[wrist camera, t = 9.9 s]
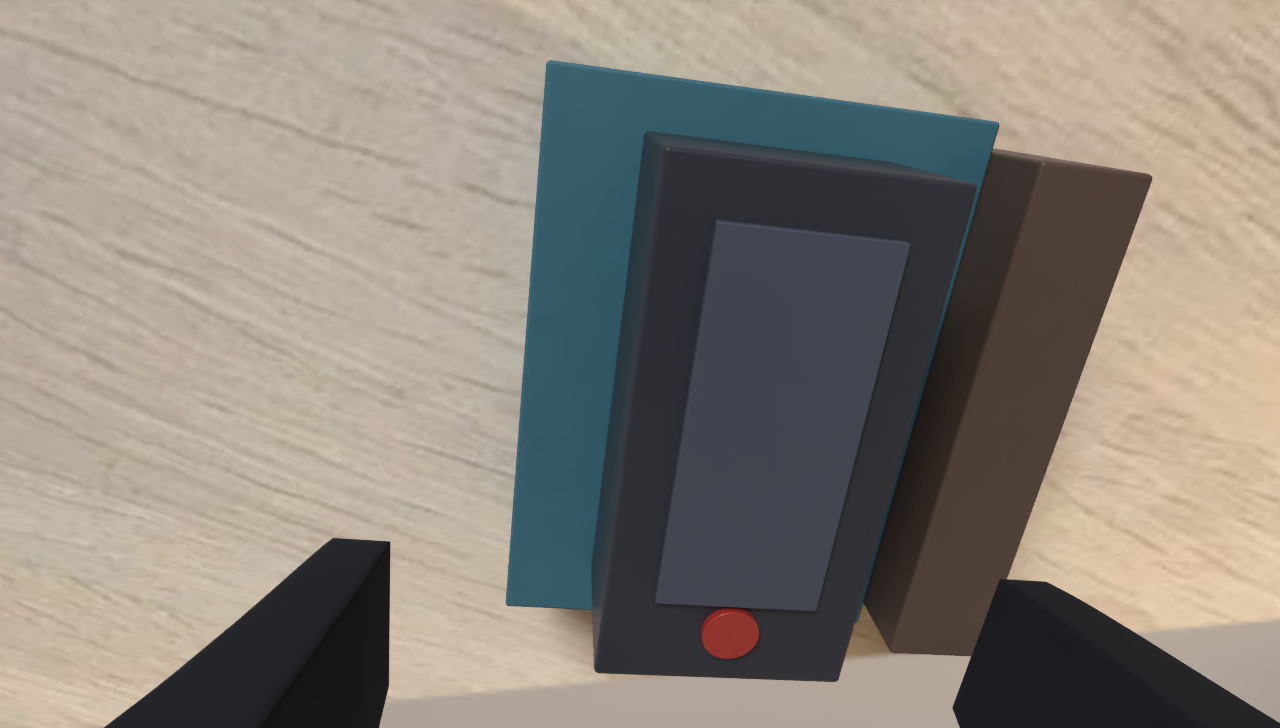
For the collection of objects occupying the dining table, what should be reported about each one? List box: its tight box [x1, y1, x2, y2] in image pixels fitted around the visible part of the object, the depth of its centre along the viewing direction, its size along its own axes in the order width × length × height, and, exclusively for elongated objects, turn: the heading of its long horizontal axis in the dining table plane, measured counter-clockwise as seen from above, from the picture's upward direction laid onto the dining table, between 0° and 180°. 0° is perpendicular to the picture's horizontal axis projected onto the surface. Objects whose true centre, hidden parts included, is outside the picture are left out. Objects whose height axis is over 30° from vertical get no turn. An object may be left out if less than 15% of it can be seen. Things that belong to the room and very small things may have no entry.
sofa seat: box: [506, 60, 1152, 656], centre depth 15 cm, size 10×11×4 cm
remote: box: [591, 131, 977, 682], centre depth 13 cm, size 9×4×3 cm, turn 173°
